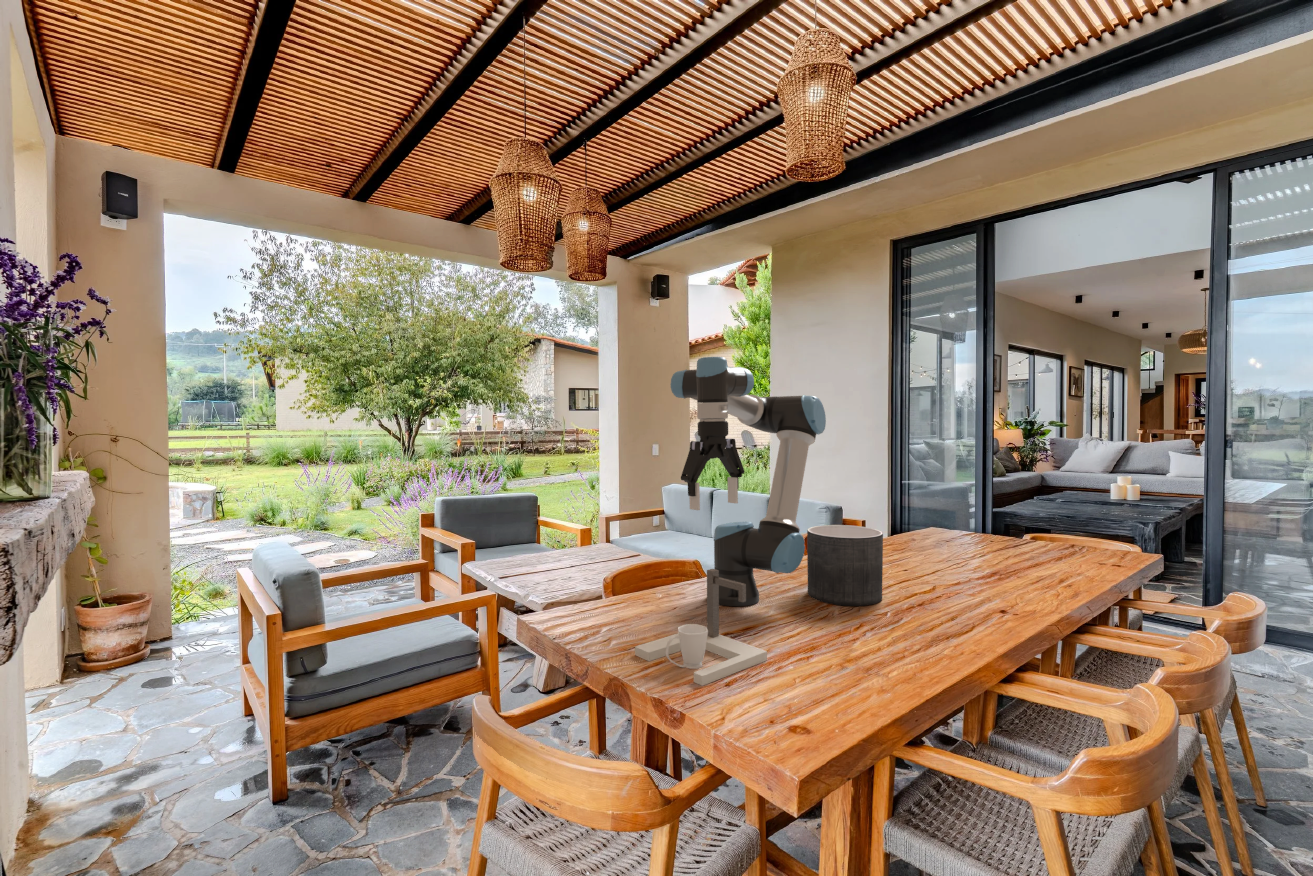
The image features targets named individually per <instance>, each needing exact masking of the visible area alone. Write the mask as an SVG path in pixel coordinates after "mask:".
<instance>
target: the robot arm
mask: <svg viewBox="0 0 1313 876" xmlns="http://www.w3.org/2000/svg"><path fill="white" fill-rule="evenodd" d="M696 361H697V362H696V369H684V370H677V371H676V372H673V374H672V376H671V378H670V390H671V393H672V394H673V396H674V397H676V398H678V399H683V400H684V399H685V400H686V399H693V400H695V401H696V405H697V407H696V409H697V410H696V411H697V414H696V415H697V416H696V418H697V419H698V420H699V421H698V422H697V435H698V437H699V441H698V440H695V441H694V440H691V441H690V442H689V451H688V454H687V457H686V460H685V463H684V465H683V469H682V472H681V476H680V479H681V481H683V482H684V483H687V495H688V497H689V510H691V511H692V510H693V511H700V510H701V507H700V506H701V502H700V501H701V499H700V495H701V493H700V492H701V491H700V482H698V480H699V478H700V476H701V475H702V472H703V470H704V469H705V466H706V464H707V463H708V462H710V460H711V459H718V460H719V461H720V462H721V464H722V466H723V467H724V469H725V470H726V472H727V473H728V475H729V476H728V477H727V503H728V504H729V503H730V504H738V503H739V497H738V495H739V494H738V491H739V478H742V477H743V475H744V474H745V472H746V471H745V469H744V465H743V463H742V460H741V457H740V455H739V452H738V449H737V442H736V438H727V436H729V422H728V421H727V419H728V418H729V416H730V415H731V416H732V417H735V418H737V420H738V422H740V423H741V424H743V425H746V426H747V427H750V428H752V429H755V430H758V431H761V432H765V433H769V434H776V437H777V439H778V440H779V446H778V451H777V452H778V453H777V458H776V463H775V468H774V473H773V478H772V484H771V488H770V493H769V498H768V505H767V510H766V515H765V517H764V518H762V519H760V520H759V524H758V528H757V527H756V528H755V527H754V523H753V522H752V521H736V522H727V523H721V524H718V525H717V526H716V527H715V529H714V537H713V546H714V547H713V550H714V552H713V555H714V556H713V557H714V560H713V561H714V565H713V566H714V567H713V569H716V570H719V577H721V578H724V579H728V580H732V581H736V582H740V583H744V584H746V602H739V590H735V589H731V588H728V587H724V586H720V585H719V606H720V605H721V606H726V607H745V606H752V605H755V604H757V603H759V601H760V592H759V590H758V587H757V583H756V579H755V577H754V570H762V571H767V572H773V573H775V574H776V573H777V574H791V573H793V572H794V571H796V569H798V567H799V566H800V565H801V563H802V561H803V557H804V554H805V551H806V550H805V549H806V546H805V539H804V536H803V535H802V534H801V533H800V532H801V531H800V530H801V528H800V526H798V524H797V522H796V521H797V517H798V516H797V515H798V511H799V504H800V498H801V493H802V487H803V481H804V475H805V471H806V463H807V459H808V453H809V448H810V446H811V445H813V444H815V442H816V436H817V435H821V434H823V433H824V432H825V430H826V425H827V424H826V422H827V421H826V420H827V418H826V411H825V408H824V405H823V402H822V401H821V399H820V398H818V397H817V396H815V395H805V394H803V395H787V396H782V395H781V396H758V395H755V394H750V393H751V392H752V391H753V388H754V386H755V378H754V375H753V373H752V372H751V371H750V370H749V369H747V368H745V367H741V366H728V361H727V358H726V357H724V356H704V357H700V358H698V359H697V360H696Z"/></svg>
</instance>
